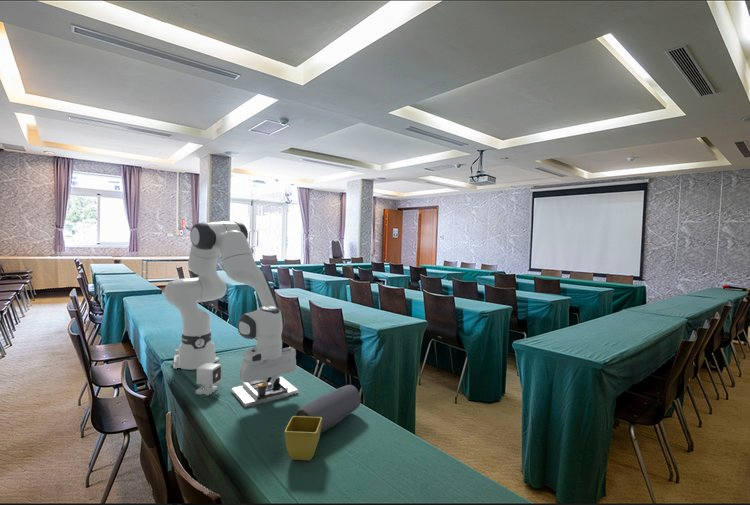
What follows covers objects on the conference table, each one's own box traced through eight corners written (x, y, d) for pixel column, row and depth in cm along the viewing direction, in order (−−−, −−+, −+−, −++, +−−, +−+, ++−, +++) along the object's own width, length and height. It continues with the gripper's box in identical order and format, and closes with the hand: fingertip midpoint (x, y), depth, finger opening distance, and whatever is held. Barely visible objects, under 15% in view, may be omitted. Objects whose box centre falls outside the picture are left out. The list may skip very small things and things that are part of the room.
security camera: (211, 396, 139) (211, 369, 138) (194, 394, 140) (194, 367, 140) (221, 389, 145) (221, 363, 145) (205, 387, 147) (205, 361, 146)
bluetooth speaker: (340, 407, 134) (341, 379, 133) (361, 415, 128) (362, 387, 128) (291, 435, 115) (292, 403, 115) (314, 446, 110) (314, 412, 109)
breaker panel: (231, 391, 143) (231, 377, 143) (281, 380, 155) (281, 366, 155) (245, 407, 131) (245, 391, 131) (298, 393, 144) (298, 378, 143)
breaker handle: (257, 393, 136) (257, 384, 136) (264, 392, 138) (264, 382, 137) (258, 395, 135) (259, 385, 135) (265, 394, 136) (265, 384, 136)
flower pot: (291, 445, 110) (292, 415, 109) (321, 446, 110) (322, 416, 109) (283, 464, 101) (283, 431, 100) (316, 465, 101) (316, 433, 100)
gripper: (292, 343, 146) (291, 379, 147) (238, 353, 133) (238, 391, 134) (299, 348, 141) (299, 384, 142) (244, 358, 128) (244, 398, 129)
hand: (269, 388), depth 138 cm, fingers closed
